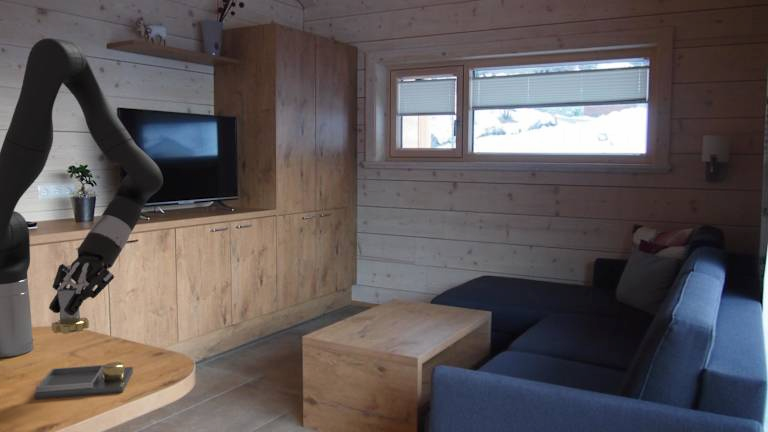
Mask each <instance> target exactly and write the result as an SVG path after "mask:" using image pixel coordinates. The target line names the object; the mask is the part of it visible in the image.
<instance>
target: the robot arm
mask: <svg viewBox="0 0 768 432" xmlns="http://www.w3.org/2000/svg"><path fill="white" fill-rule="evenodd" d="M23 75H24V76H23V80H22V85H21V88H20V89H21V90H20V93H19V97H18V100H17V103H16V105H15V108H14V112H13V115H12V117H11V121H10V124H9V127H8V129H7V131H6V134H5V135H4V136H5V137H4V140H3V143H2V146H1V148H0V358H10V357H15V356H20V355H23V354H26V353H29V352H31V351H32V350H33V349H34V338H33V325H32V314H31V302H30V290H29V279H28V271H29V267H30V264H31V245H30V243H31V242H30V239H31V238H30V231H29V226H28V223H27V221H26V218H25V217H24V216H23V215H22V214H21V213H20V212H18V211H15V208H16V206H17V205H18V203H19V201H20V199H21V198H22V197H23V195H24V194H25V193H26V192H27V191H28V190H29V188H30V187H31V186H32V185H33V183H35V181H36V180H37V179H38V177H39V176H40V175H41V173H42V172H43V171H44V168H45V166H46V163H47V160H48V158H49V156H50V153H51V150H52V146H53V142H54V123H53V122H54V121H53V109H54V105H55V101H56V98H57V97H58V94H59V91H60V89H61V86H62V85H64V86H65V87H66V88H67V90H68V91H70V93H71V94H72V95H73V97H74V98H75V99H76V101H77V102H78V105H79V107H80V108H81V110H82V114H83V116H84V119H85V123H86V127H87V128H88V131H89V134H90V136H91V137H92V140H93V141H94V142H95V144H96V145H97V147H98V148H99V150H100V151H101V152H102V154H103V156H104V157H105V158H106V160H107V161H108V162H109V163H110V164H111V165H112V166H118V165H119V166H120V167H121V168H122V169H123V170H124V171H125V173H126V176H124V178H122V179H123V180H122V181H121V182H120V184H119V185H118V188H117V190H116V191H115V194H114V196H113V198H112V200H111V201H110V202H109V203H108V204H107V207H106V208H105V210H104V211H103V213H102V215H100V216H99V218H98V219H97V220H96V221H95V222H94V224H93V225H92V227H91V228H90V229H89V231H88V233H87V235H86V236H85V237H84V239H83V241H82V242H81V243H80V245H79V247H78V248H77V258H76V259H75V260H74V261H72V263H71V264H70V265H65V264H63V263H61V264H59V267H58V269H57V272H56V275H55V278H54V281H53V284H52V288H53V289H54V290H55V291H56V295H55V296H54V297H53V299H52V301H51V302H50V304H49V305H48V306H49V307H48V309H49V310H50V311H51V312H53V313H56V314H60V312H59V299H58V290H60V289H64V288H77V290H76V294H74V295H73V296H72V297H71V299H70V301H69V302H68V304H67V305H66V307H65V309H64V311H65V312H66V313H67V314H69V315H74V314H75V313H76V312H77V311H78V309H79V310H80V308H81V306H82V304H83V302H84V301H86V300H87V299H88V298H91V299H95V298H96V297H97V296H98V295H99V294H100V293H101V292H102V291H103V290H104V289H105V288H106V287H107V286H108V285H109V284H110V283H111V282H112V281H113V280H114V278H115V276H114V274H113V273H112V272H111V271H110V270H109V269H111V268H112V267H113V266H114V264H115V262H116V261H117V259H118V258H119V255H120V253H122V251H123V250H124V248H125V246H126V244H127V243H128V241H129V238H130V236H131V234H132V232H133V231H134V228H135V227H136V225H137V224H138V222H139V220H140V218H141V216H142V210H143V208H144V206H145V204H146V203H147V202H148V201H149V199H150V198H151V197H152V196H153V195H154V194H157V192H158V191H159V190H161V188H162V186H163V184H164V177H163V174H162V171H161V169H160V167H159V165H158V164H157V163H156V162H155V161H154V160H153V159H152V158H151V157H150V156H149V155H148V154H147V153H146V152H145V151H144V150H142V148H140V147H139V146H138V145H137V144H136V142H135V141H134V139H133V138H132V136H131V134H130V133H129V131H128V130H127V128H126V127H125V126H124V124H123V123H122V121H121V120H120V118H119V117H118V115H117V114H116V112H115V111H114V109H113V107H112V105H111V104H110V102H109V100H108V99H107V97H106V95H105V93H104V90H103V89H102V88H101V86H100V83H99V81H98V80H97V77H96V75H95V73H94V71H93V69H92V67H91V64H90V62H89V60H88V58H87V56H86V54H85V53H84V51H83V50H82V48H81V47H80V46H79V45H77V44H75V43H74V42H72V41H69V40H64V39H59V38H51V37H50V38H49V37H48V38H42V39H40V40H38V41H36V43H34V45H33V46H32V47H31V49H30V51H29V54H28V57H27V61H26V66H25V70H24V73H23ZM72 280H73V281H72ZM68 286H69V287H68ZM96 286H97V287H96Z"/></svg>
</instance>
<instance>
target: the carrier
mask: <svg viewBox="0 0 768 432" xmlns="http://www.w3.org/2000/svg"><path fill="white" fill-rule="evenodd" d="M133 373H134V368H133V366H125V363H124V362H121V361H115V362H109V363H105V364H98V365H85V366H84V365H83V366H71V367H59V368H58V367H57V368H55V367H54V368H51V370H49V372H48V373H47V374H46V375H45V376H44V377H43V379H42V380H41V381H40V383H38V385H37V386H36V387H35V393H34V399H35V400H42V399H43V400H44V399H55V398H57V399H58V398H68V397H79V396H82V397H83V396H95V395H104V394H105V395H107V394H117V393H118V394H119V393H123V392H124V391H125V389H126V387H127V385H128V383H129V381H130V379H131V377H132V375H133Z"/></svg>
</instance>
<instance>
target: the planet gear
mask: <svg viewBox="0 0 768 432" xmlns="http://www.w3.org/2000/svg"><path fill="white" fill-rule="evenodd" d="M76 290H77V288H69V287H67V288H64V289H60V290H58V299H59V319H58V320H57V321H53V322H51V331H52V332H53V333H54V334H63V335H66V334H67V335H69V334H70V333H75V332H76V333H79V332H83V331H84V329H89V328H90V320H89V319H88V318H87V317H81V313H80V308H79V309H78V311H77V312H76V313H75V314H74V315H69V314H67V313H66V312H65V311H64V309H65V307H66V305H67V304H68V302H69V301H70V299H71V297H72V296H73V295H74V294H76Z"/></svg>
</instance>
